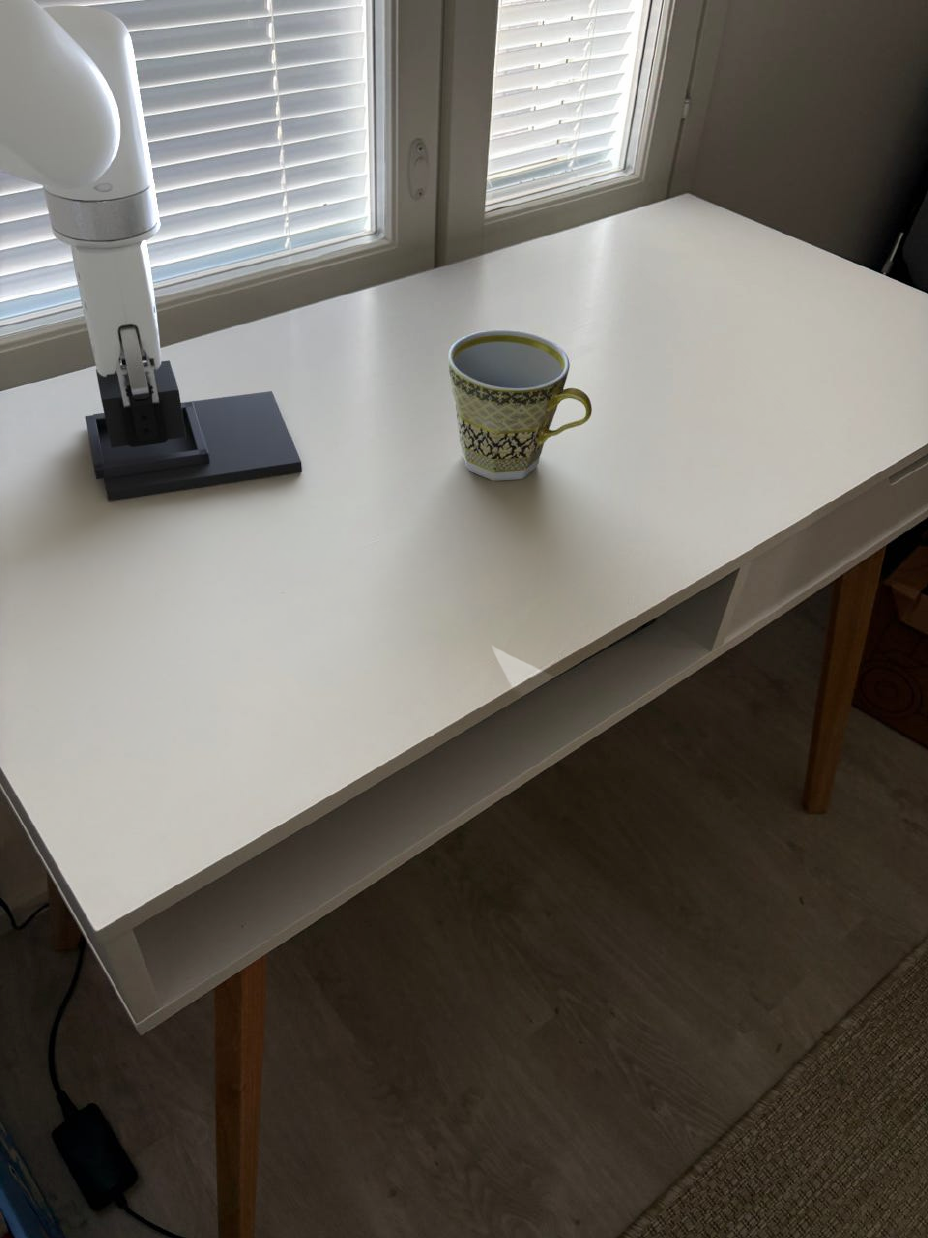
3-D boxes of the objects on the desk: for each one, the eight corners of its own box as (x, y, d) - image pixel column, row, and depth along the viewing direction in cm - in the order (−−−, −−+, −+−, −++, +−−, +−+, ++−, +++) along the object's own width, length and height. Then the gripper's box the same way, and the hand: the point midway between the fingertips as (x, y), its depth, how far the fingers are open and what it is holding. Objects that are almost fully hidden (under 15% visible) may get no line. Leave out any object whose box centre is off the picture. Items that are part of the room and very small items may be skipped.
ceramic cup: (420, 464, 88) (424, 361, 81) (482, 416, 95) (491, 317, 88) (548, 521, 83) (563, 416, 77) (604, 467, 90) (623, 365, 83)
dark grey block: (111, 447, 83) (101, 399, 80) (105, 415, 86) (95, 368, 83) (186, 437, 85) (178, 389, 82) (177, 406, 88) (169, 359, 85)
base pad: (100, 502, 82) (95, 482, 81) (87, 424, 90) (83, 404, 89) (302, 471, 87) (300, 451, 85) (272, 400, 95) (271, 381, 93)
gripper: (41, 168, 77) (89, 379, 90) (56, 262, 66) (108, 489, 78) (142, 162, 80) (175, 369, 92) (173, 251, 68) (205, 474, 81)
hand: (143, 422), depth 85 cm, fingers closed on dark grey block, 5 cm apart
